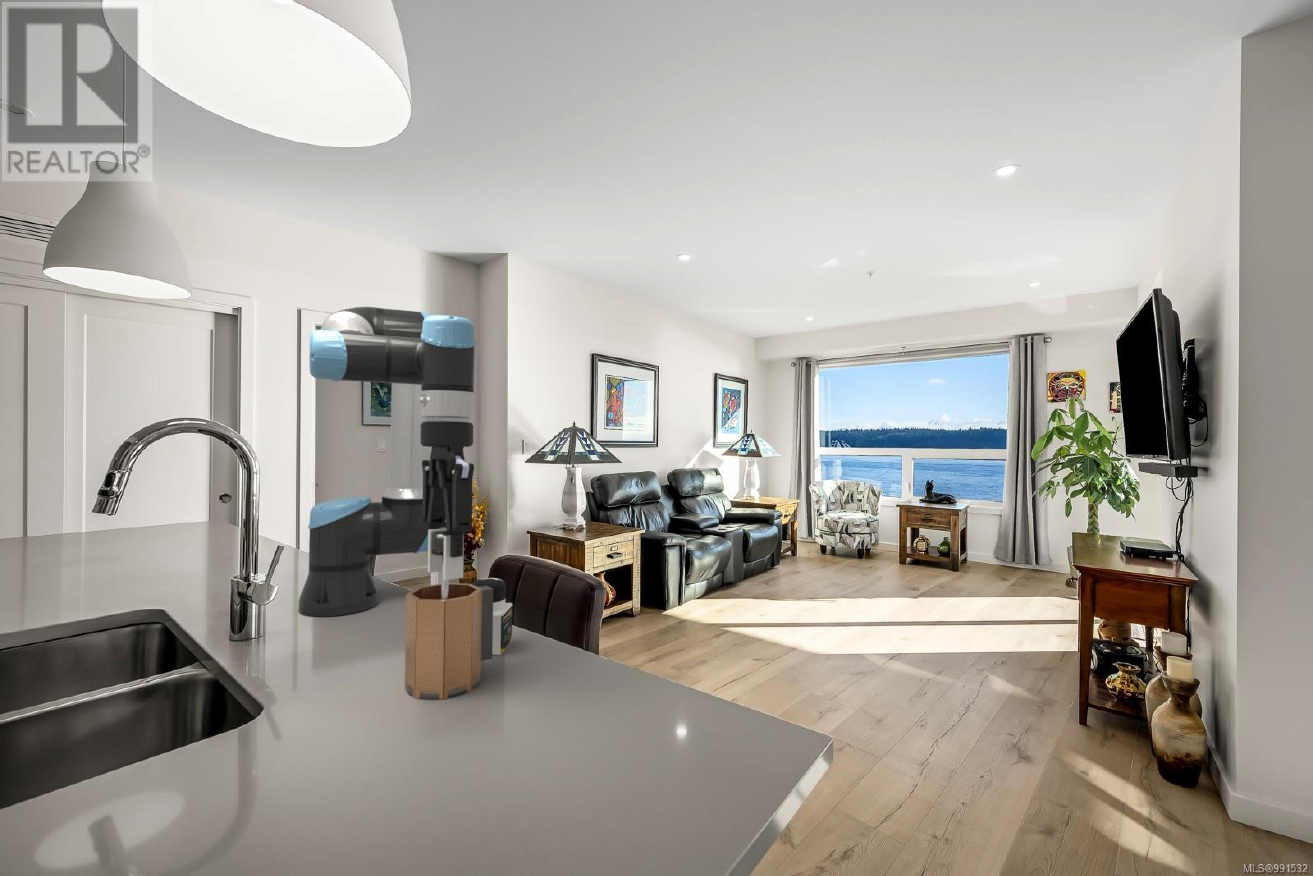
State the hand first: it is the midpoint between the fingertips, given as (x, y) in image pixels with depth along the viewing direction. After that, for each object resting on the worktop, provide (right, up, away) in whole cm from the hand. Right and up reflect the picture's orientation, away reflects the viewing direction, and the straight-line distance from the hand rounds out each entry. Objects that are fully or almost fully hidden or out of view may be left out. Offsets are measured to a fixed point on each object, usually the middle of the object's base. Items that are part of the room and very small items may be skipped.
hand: (445, 574), depth 89 cm
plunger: (0, -15, 0) cm, 15 cm away
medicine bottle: (+2, -17, +16) cm, 23 cm away
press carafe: (0, -17, +1) cm, 17 cm away
